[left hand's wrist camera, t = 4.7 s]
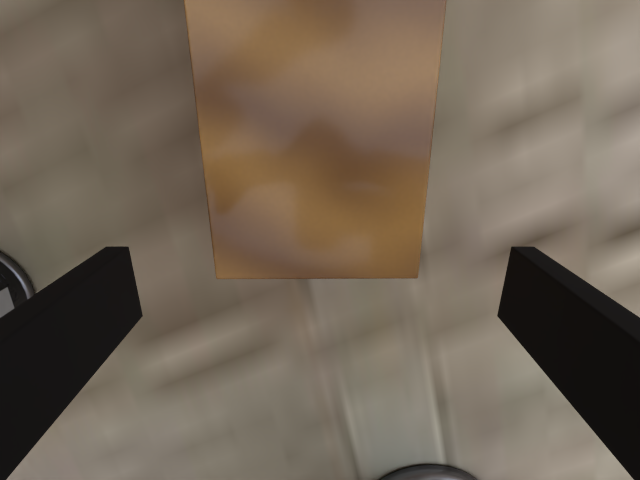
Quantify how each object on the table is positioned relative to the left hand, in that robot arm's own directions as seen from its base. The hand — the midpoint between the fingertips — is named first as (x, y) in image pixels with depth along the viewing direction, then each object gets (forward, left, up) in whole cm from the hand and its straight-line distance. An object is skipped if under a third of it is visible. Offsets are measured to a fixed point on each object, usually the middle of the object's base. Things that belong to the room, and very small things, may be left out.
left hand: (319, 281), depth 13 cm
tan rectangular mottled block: (+3, +4, -17) cm, 18 cm away
